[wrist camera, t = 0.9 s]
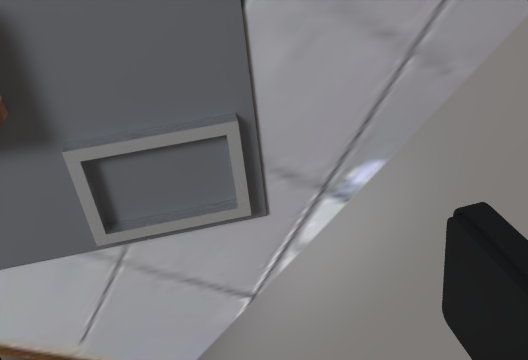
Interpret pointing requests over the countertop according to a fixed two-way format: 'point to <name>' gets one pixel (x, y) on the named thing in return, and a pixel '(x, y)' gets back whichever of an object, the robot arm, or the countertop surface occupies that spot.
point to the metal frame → (149, 139)
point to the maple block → (2, 112)
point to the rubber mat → (116, 114)
